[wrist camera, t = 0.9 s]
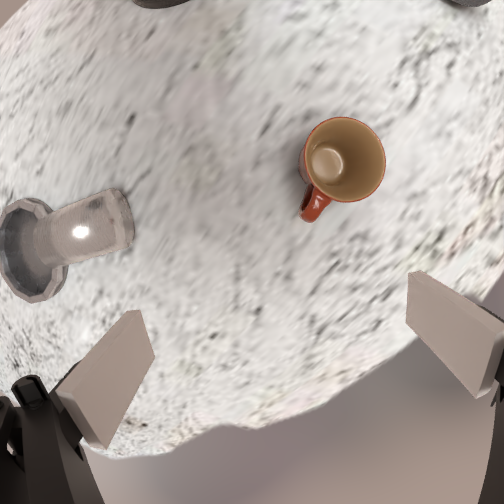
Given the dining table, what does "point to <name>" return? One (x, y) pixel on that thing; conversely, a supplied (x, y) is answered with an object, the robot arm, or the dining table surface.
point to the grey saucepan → (59, 240)
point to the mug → (339, 165)
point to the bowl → (471, 2)
